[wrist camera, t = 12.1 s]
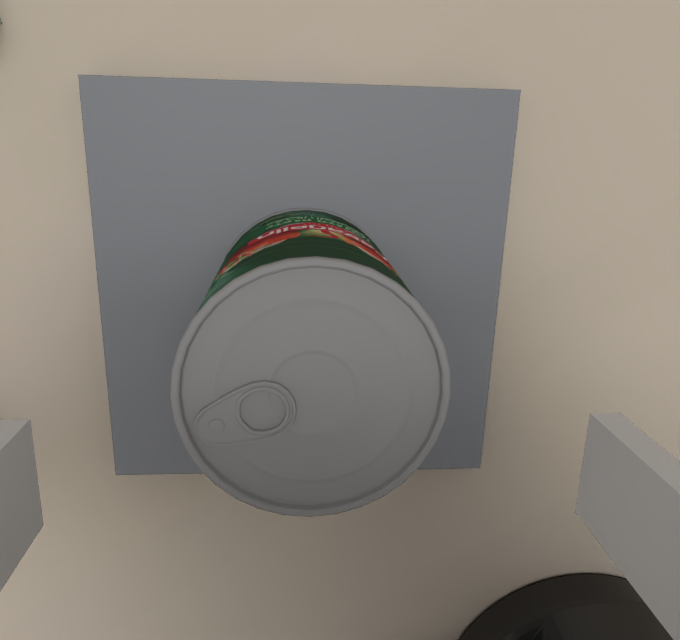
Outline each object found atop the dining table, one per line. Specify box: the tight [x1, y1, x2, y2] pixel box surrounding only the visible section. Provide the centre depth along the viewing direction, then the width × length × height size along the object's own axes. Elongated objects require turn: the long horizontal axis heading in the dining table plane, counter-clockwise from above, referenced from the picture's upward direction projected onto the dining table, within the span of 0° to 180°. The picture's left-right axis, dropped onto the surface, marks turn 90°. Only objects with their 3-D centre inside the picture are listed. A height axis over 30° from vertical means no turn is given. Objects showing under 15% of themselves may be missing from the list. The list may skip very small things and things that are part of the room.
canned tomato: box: [170, 208, 450, 517], centre depth 22 cm, size 8×8×11 cm
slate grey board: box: [78, 75, 521, 475], centre depth 28 cm, size 18×18×1 cm
